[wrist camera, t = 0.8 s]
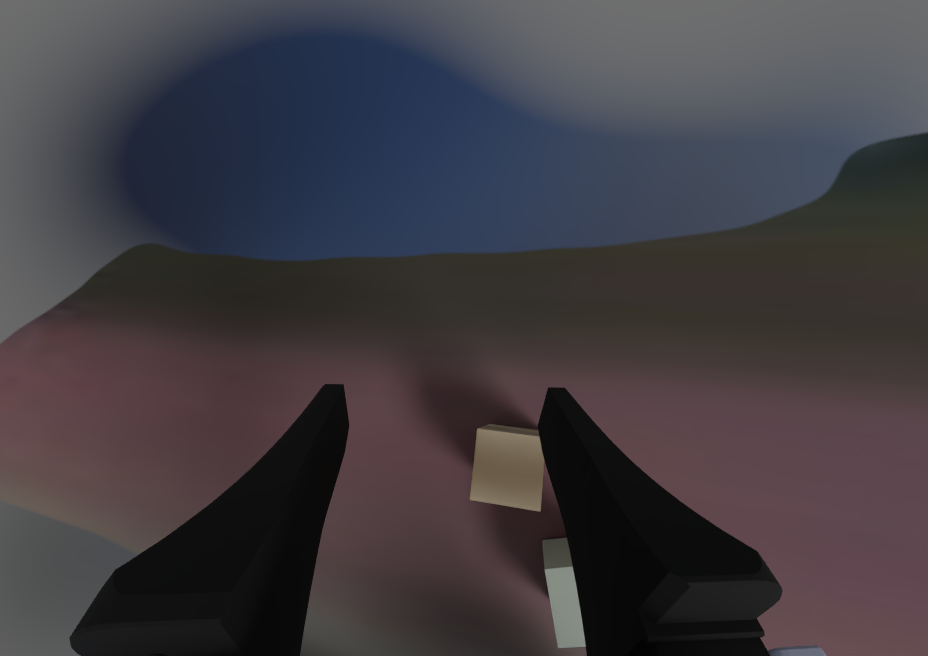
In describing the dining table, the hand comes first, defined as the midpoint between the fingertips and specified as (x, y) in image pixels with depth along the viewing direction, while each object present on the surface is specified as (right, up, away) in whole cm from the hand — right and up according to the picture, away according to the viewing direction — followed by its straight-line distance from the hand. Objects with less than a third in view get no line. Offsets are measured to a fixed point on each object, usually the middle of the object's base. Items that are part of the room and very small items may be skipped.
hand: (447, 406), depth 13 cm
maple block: (+4, -7, +15) cm, 17 cm away
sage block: (+8, -14, +13) cm, 21 cm away
